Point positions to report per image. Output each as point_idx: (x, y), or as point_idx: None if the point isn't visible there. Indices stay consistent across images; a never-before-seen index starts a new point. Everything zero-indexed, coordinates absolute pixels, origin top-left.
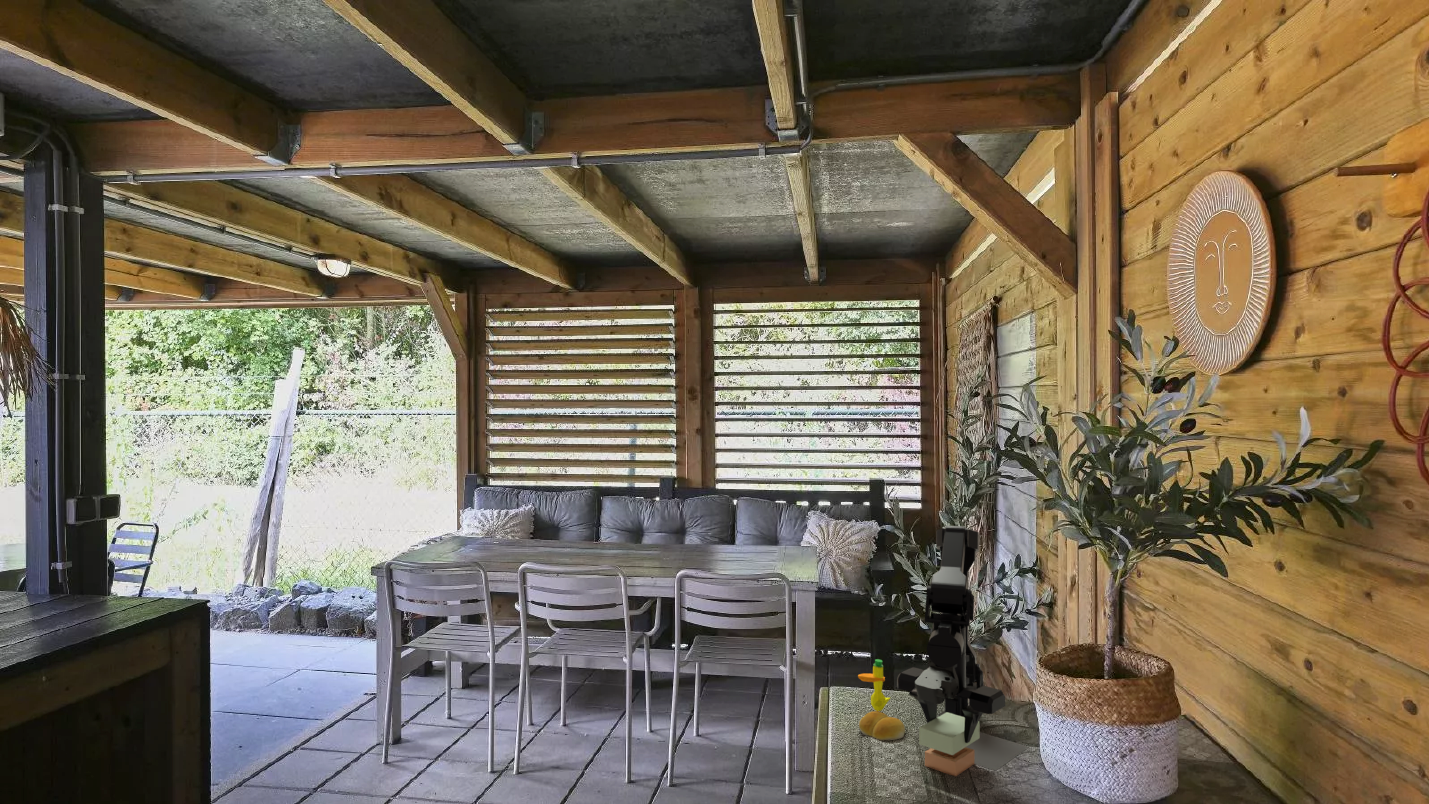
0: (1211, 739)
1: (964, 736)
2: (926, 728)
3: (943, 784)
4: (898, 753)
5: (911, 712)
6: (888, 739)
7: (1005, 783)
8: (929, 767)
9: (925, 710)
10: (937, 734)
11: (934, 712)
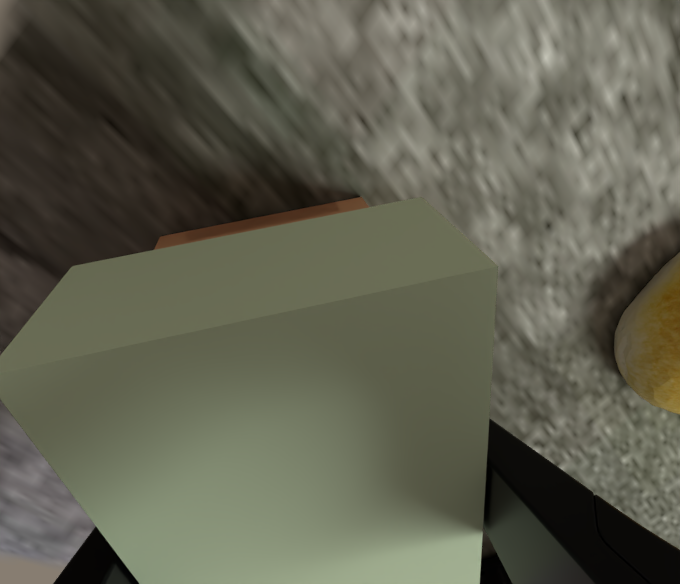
0: None
1: None
2: (413, 316)
3: (141, 119)
4: (563, 218)
5: (662, 496)
6: (664, 275)
7: (3, 406)
8: (333, 207)
9: (605, 539)
10: (221, 316)
11: (522, 570)
